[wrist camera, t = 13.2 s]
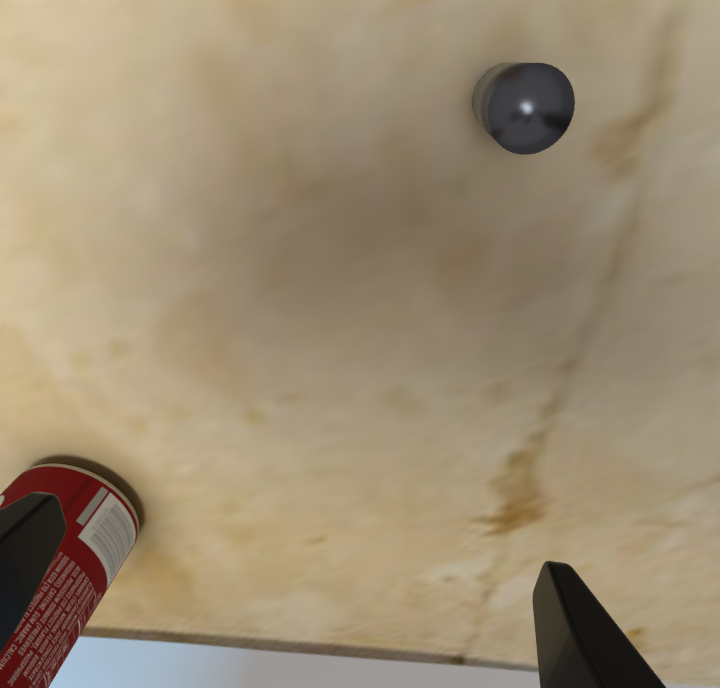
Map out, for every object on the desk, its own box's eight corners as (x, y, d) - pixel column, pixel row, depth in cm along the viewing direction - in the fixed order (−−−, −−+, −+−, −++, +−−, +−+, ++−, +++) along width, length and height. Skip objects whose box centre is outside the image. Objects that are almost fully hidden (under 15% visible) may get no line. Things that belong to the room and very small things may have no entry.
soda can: (139, 465, 26) (-56, 740, 15) (151, 555, 29) (-2, 832, 19) (9, 444, 26) (-268, 701, 16) (36, 536, 29) (-179, 798, 19)
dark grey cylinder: (544, 65, 16) (585, 66, 12) (529, 135, 17) (562, 157, 13) (478, 60, 16) (496, 59, 12) (467, 129, 17) (481, 150, 13)
